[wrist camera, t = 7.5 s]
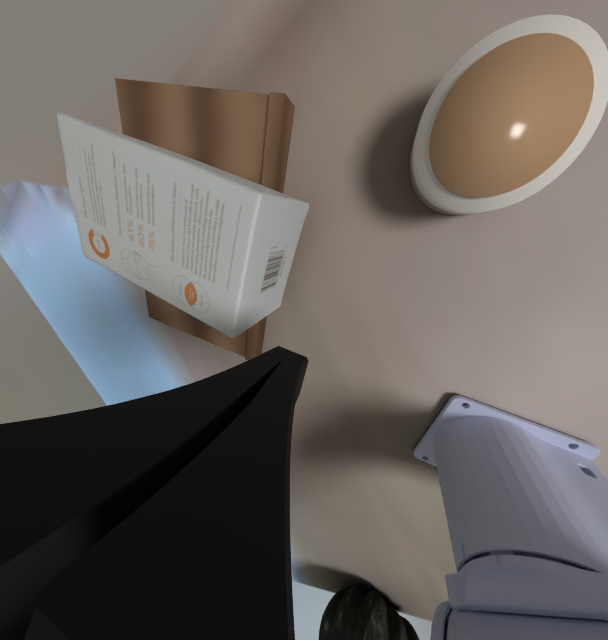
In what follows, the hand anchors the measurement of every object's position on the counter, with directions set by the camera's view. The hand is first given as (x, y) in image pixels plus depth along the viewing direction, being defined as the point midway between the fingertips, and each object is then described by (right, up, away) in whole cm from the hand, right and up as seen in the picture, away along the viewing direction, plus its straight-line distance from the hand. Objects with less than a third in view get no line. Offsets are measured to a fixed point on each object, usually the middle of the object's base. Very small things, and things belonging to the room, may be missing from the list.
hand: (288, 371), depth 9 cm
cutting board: (-8, +9, +11) cm, 17 cm away
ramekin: (+10, +11, +3) cm, 15 cm away
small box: (-1, +5, +5) cm, 7 cm away
